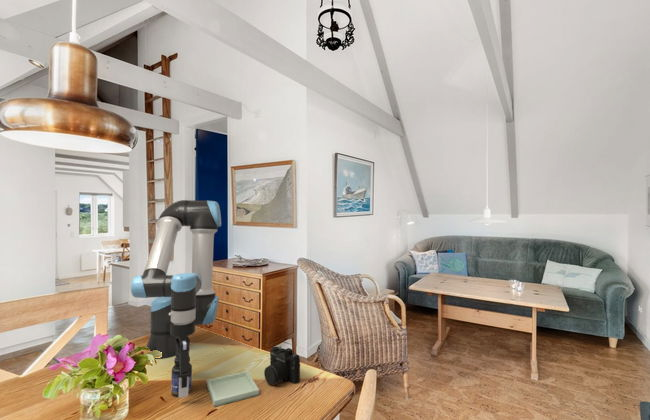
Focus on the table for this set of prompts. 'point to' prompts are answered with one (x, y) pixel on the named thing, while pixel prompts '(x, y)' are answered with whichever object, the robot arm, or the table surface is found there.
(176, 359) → the pill bottle
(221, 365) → the table surface
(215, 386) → the tray
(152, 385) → the table surface
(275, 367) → the camera
